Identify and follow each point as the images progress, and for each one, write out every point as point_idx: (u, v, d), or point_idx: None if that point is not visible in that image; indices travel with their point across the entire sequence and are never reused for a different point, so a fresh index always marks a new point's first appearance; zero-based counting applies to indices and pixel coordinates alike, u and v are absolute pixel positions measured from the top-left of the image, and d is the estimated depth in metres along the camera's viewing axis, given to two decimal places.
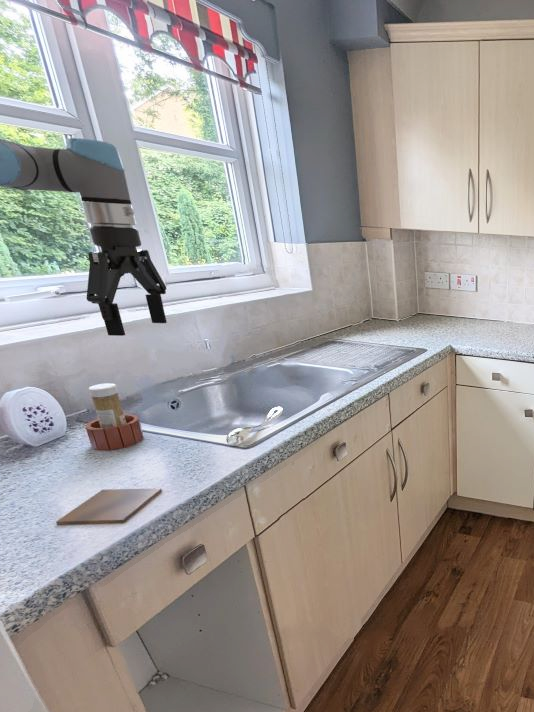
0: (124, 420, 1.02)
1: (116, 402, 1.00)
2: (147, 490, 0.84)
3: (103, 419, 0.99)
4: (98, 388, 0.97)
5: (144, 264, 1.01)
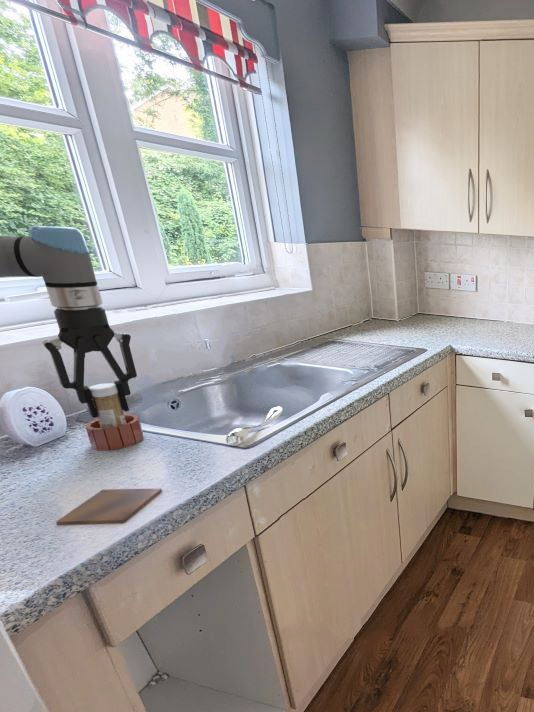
0: (124, 420, 1.02)
1: (116, 402, 1.00)
2: (147, 490, 0.84)
3: (103, 418, 0.99)
4: (98, 388, 0.97)
5: (121, 347, 0.99)
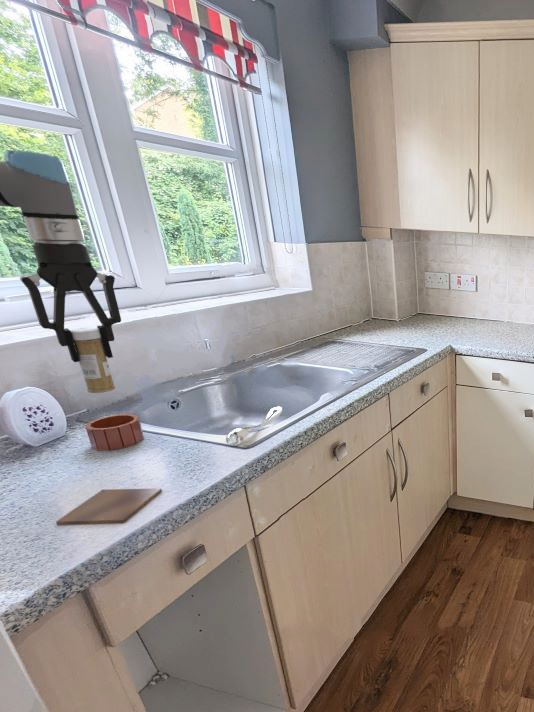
0: (107, 367, 0.97)
1: (99, 347, 0.95)
2: (147, 490, 0.84)
3: (85, 364, 0.94)
4: (80, 331, 0.92)
5: (104, 289, 0.94)
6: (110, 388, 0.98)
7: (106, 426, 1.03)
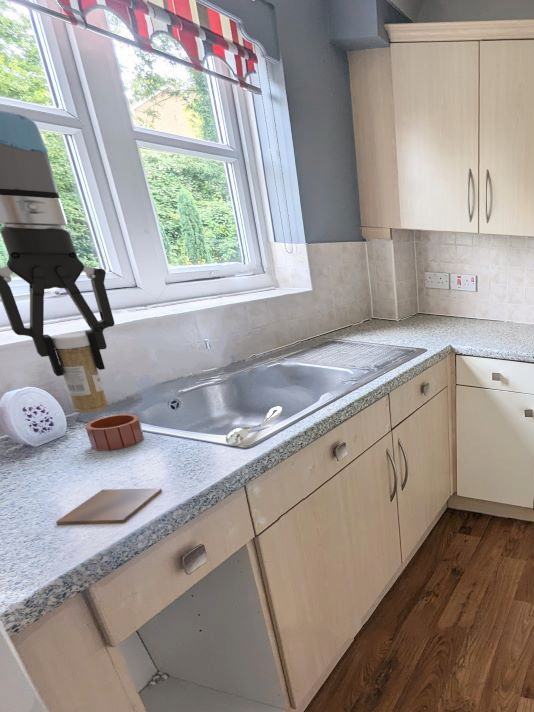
0: (99, 381, 0.80)
1: (88, 357, 0.77)
2: (147, 490, 0.84)
3: (70, 378, 0.76)
4: (63, 337, 0.75)
5: (93, 285, 0.77)
6: (102, 406, 0.80)
7: (106, 426, 1.03)
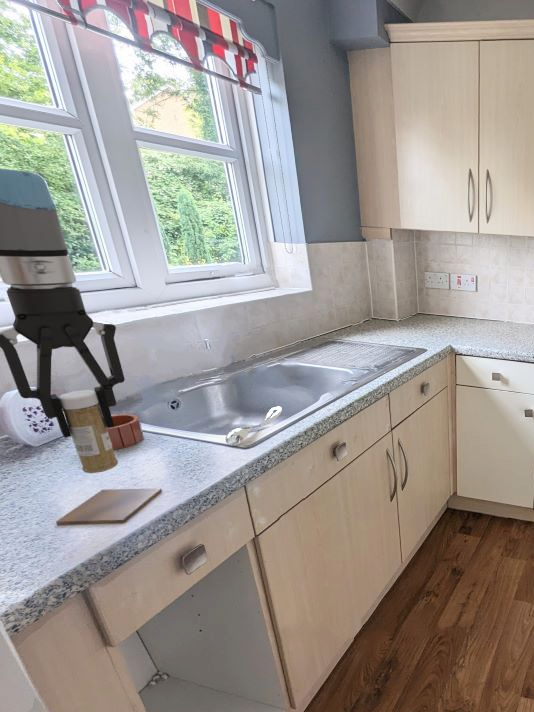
0: (108, 439, 0.76)
1: (96, 416, 0.74)
2: (147, 490, 0.84)
3: (78, 438, 0.73)
4: (71, 397, 0.71)
5: (103, 341, 0.73)
6: (111, 465, 0.77)
7: (106, 426, 1.03)
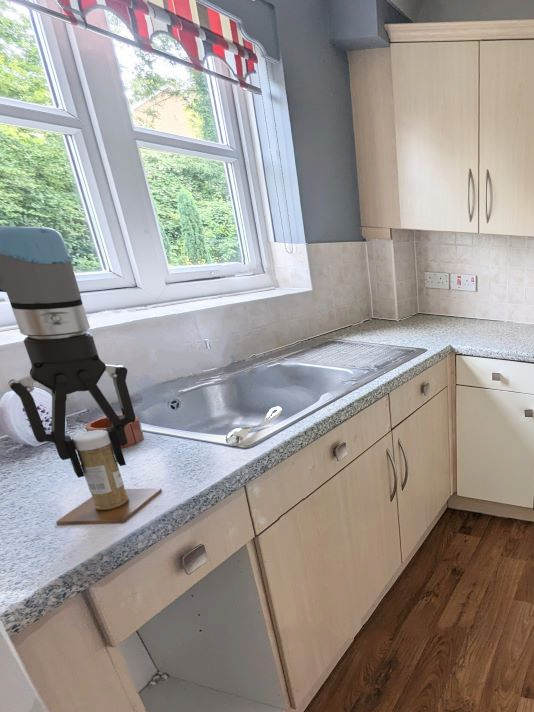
0: (119, 477, 0.79)
1: (108, 455, 0.76)
2: (147, 490, 0.84)
3: (91, 477, 0.75)
4: (85, 439, 0.74)
5: (115, 383, 0.76)
6: (122, 502, 0.79)
7: (106, 426, 1.03)
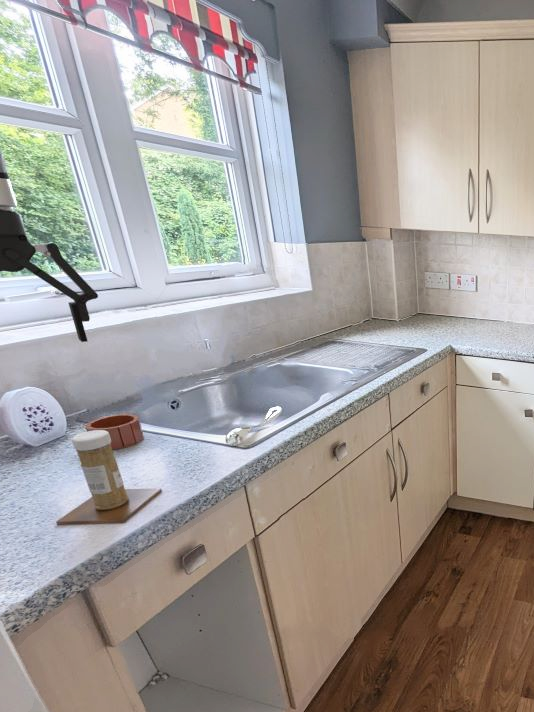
0: (119, 477, 0.79)
1: (108, 455, 0.76)
2: (147, 490, 0.84)
3: (91, 477, 0.75)
4: (85, 439, 0.74)
5: (55, 262, 0.75)
6: (122, 502, 0.79)
7: (106, 426, 1.03)
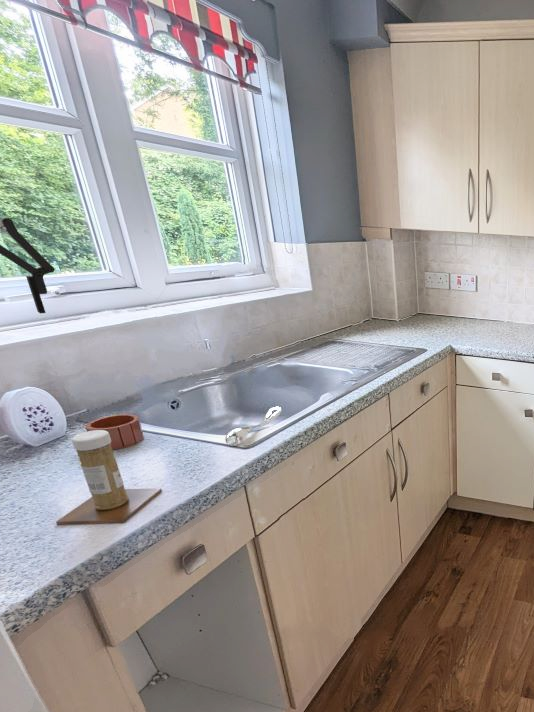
0: (119, 477, 0.79)
1: (108, 455, 0.76)
2: (147, 490, 0.84)
3: (91, 477, 0.75)
4: (84, 439, 0.74)
5: (11, 237, 0.79)
6: (122, 502, 0.79)
7: (106, 426, 1.03)
